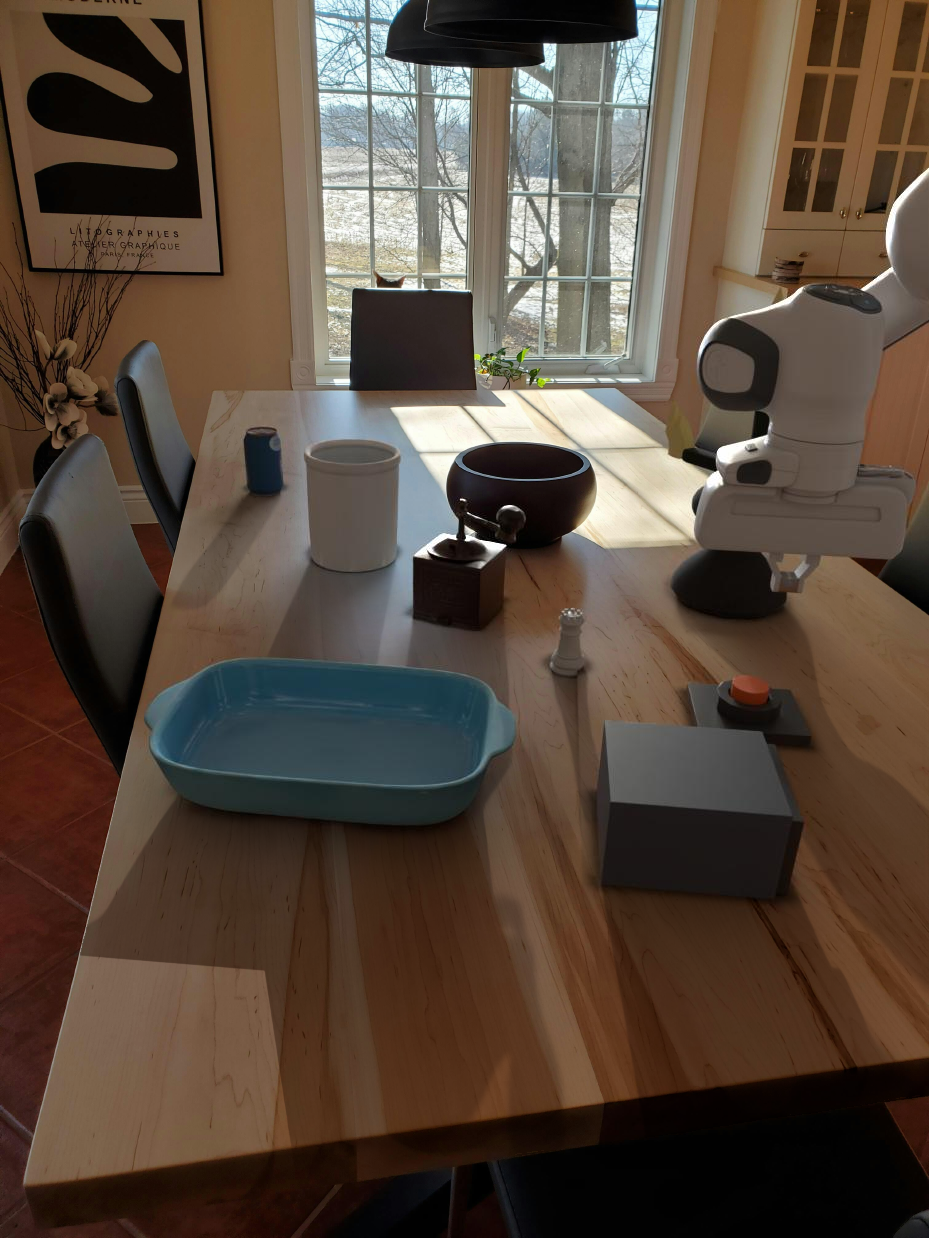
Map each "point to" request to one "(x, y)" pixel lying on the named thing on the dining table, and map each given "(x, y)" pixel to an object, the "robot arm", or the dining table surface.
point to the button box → (749, 713)
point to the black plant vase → (721, 575)
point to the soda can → (263, 461)
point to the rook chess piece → (569, 645)
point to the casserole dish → (329, 739)
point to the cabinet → (690, 810)
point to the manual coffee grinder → (464, 573)
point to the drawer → (795, 826)
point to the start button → (750, 690)
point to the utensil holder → (353, 503)
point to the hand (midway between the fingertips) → (785, 590)
